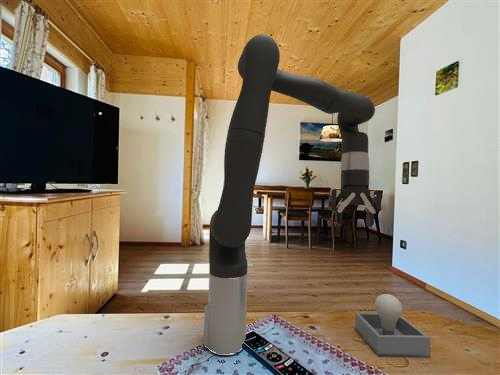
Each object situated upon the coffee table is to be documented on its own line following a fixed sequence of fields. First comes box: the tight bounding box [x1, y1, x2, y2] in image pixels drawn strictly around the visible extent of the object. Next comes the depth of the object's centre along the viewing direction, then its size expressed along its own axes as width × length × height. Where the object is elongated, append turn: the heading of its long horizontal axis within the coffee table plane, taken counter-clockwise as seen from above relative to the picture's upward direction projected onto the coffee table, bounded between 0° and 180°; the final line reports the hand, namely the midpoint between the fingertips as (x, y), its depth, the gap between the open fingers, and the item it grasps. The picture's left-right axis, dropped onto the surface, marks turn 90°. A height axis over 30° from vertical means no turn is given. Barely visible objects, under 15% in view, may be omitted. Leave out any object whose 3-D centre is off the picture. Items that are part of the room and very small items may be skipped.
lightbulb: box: [374, 293, 403, 335], centre depth 64 cm, size 6×6×11 cm
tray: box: [354, 312, 431, 358], centre depth 63 cm, size 12×12×4 cm
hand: (354, 226), depth 71 cm, fingers open, 8 cm apart
